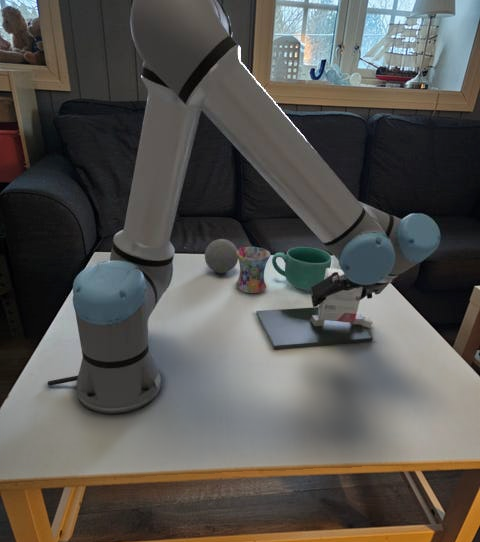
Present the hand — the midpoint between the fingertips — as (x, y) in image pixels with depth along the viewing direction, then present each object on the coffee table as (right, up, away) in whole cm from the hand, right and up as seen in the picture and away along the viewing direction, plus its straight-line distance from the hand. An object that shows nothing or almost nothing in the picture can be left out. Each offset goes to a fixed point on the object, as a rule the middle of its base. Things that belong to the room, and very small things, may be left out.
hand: (332, 300), depth 106 cm
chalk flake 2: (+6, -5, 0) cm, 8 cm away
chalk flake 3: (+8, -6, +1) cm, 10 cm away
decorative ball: (-29, +10, +25) cm, 39 cm away
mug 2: (-6, +6, +20) cm, 22 cm away
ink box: (0, -4, -1) cm, 5 cm away
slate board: (-5, -7, -1) cm, 9 cm away
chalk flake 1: (-4, -6, -1) cm, 7 cm away
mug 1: (-19, +5, +17) cm, 26 cm away
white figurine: (+9, +9, +28) cm, 30 cm away
